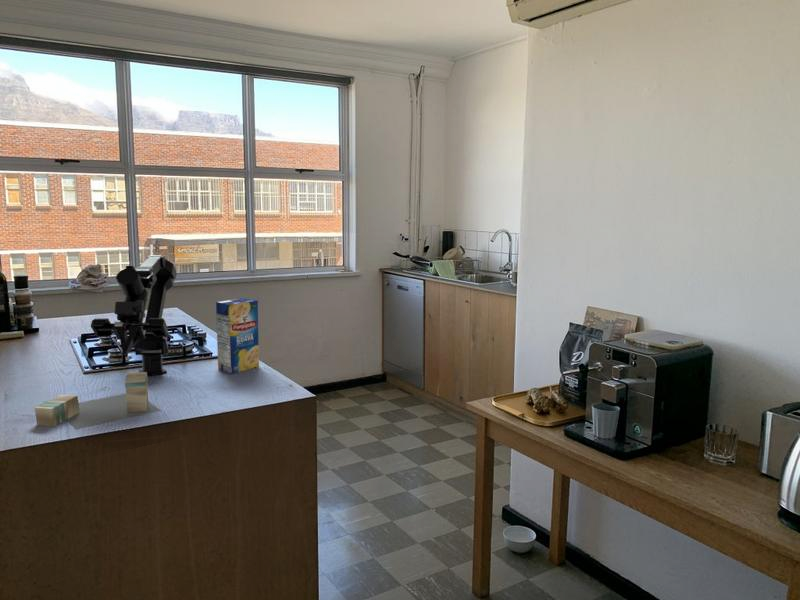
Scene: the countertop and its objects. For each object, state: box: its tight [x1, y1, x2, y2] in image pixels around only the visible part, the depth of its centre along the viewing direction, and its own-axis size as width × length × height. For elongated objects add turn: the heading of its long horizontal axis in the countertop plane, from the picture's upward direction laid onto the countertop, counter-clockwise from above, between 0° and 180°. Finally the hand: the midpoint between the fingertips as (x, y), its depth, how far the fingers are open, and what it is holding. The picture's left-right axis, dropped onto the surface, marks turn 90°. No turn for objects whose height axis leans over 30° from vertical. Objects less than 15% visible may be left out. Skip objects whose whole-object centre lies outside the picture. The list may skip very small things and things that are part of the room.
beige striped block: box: [34, 394, 80, 427], centre depth 148 cm, size 5×5×9 cm
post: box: [124, 371, 149, 412], centre depth 156 cm, size 5×5×9 cm
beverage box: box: [215, 297, 260, 375], centre depth 193 cm, size 7×11×22 cm, turn 142°
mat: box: [66, 393, 162, 430], centre depth 156 cm, size 19×20×1 cm
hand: (124, 354), depth 161 cm, fingers closed
